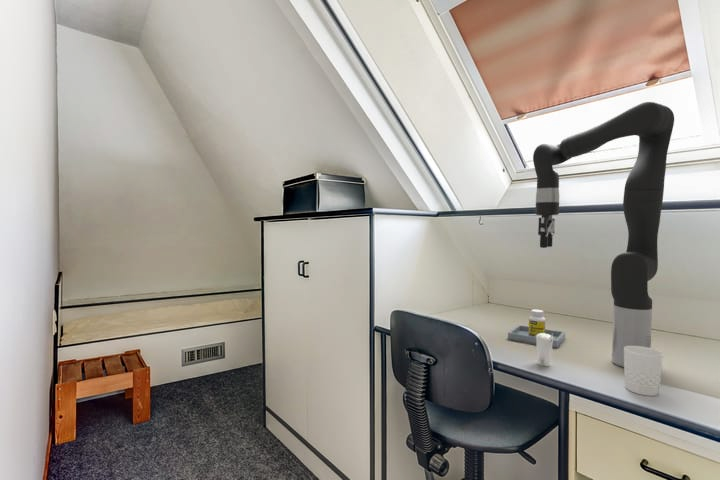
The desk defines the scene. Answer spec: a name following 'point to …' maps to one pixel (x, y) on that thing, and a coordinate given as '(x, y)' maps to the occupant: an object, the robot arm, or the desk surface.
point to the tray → (523, 336)
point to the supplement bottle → (536, 323)
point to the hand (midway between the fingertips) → (546, 247)
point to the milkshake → (544, 348)
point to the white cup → (642, 369)
